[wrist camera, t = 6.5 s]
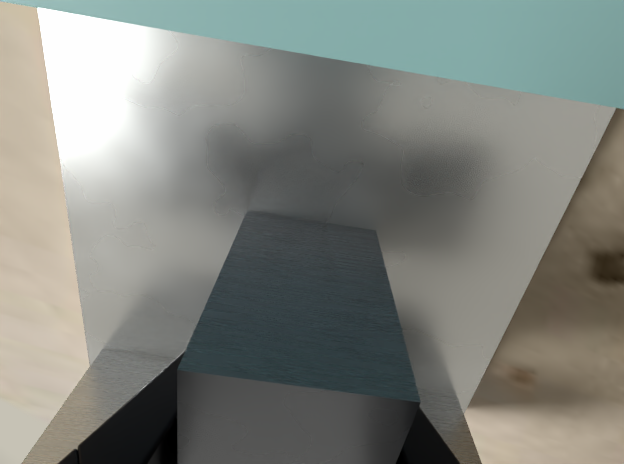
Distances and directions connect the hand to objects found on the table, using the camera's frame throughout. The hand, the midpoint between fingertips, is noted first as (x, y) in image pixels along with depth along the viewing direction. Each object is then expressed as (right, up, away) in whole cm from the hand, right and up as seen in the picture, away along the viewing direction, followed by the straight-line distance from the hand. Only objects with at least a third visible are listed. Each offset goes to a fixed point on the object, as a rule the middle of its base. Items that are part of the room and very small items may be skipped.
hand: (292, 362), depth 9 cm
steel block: (0, +1, +2) cm, 3 cm away
